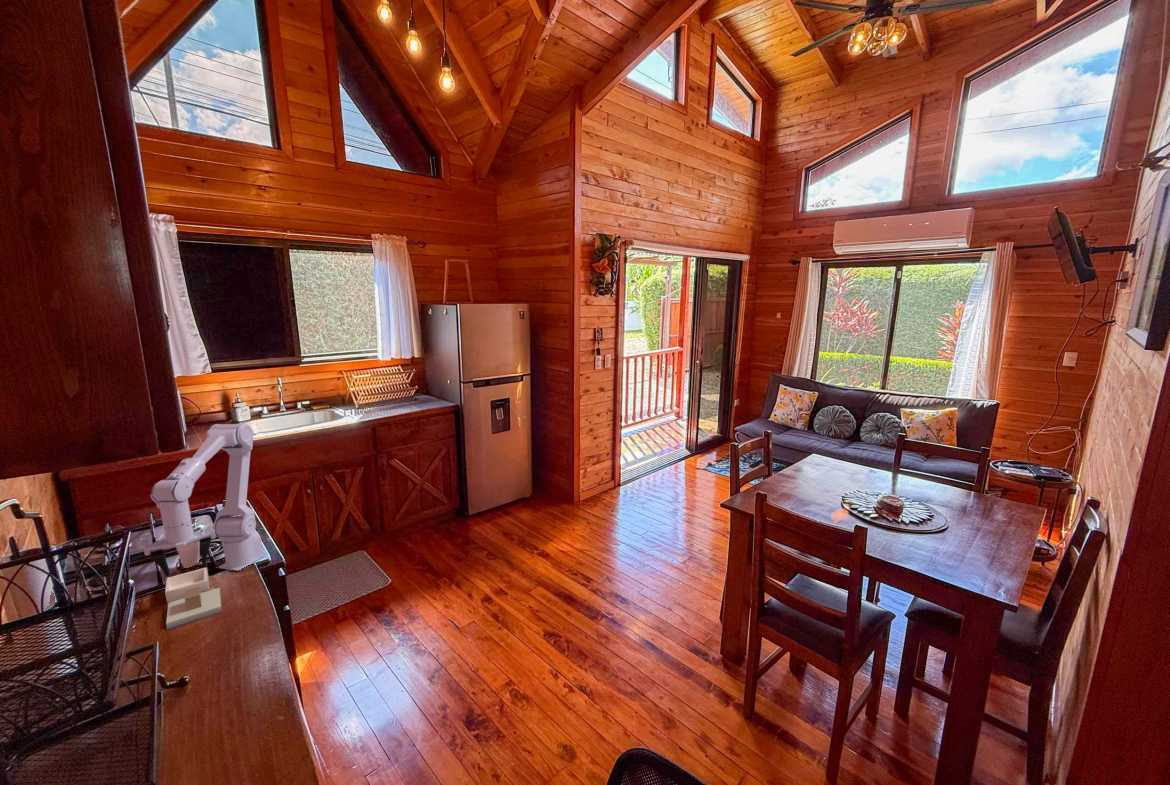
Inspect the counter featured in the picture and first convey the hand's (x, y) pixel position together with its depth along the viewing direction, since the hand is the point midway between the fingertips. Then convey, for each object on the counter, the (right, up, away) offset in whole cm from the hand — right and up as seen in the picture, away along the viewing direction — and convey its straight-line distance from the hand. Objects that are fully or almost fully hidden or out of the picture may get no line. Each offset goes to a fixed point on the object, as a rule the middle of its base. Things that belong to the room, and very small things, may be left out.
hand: (186, 570), depth 130 cm
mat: (+4, -10, -2) cm, 11 cm away
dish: (-5, -8, +7) cm, 12 cm away
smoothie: (-14, -6, +19) cm, 24 cm away
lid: (+4, -9, -2) cm, 10 cm away
